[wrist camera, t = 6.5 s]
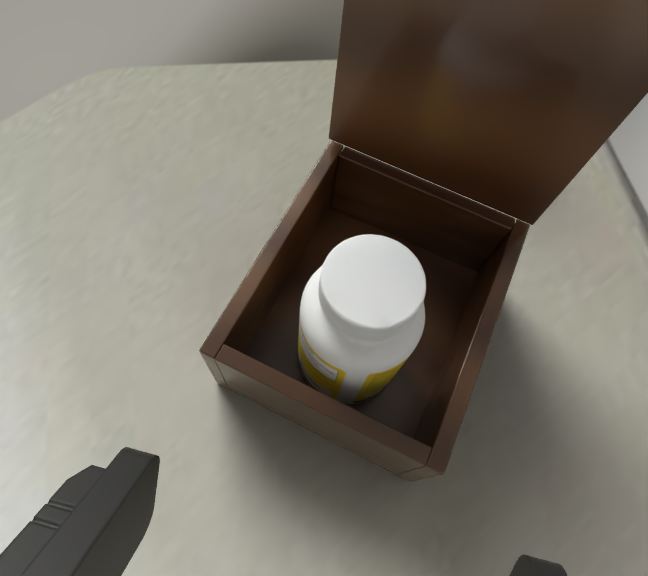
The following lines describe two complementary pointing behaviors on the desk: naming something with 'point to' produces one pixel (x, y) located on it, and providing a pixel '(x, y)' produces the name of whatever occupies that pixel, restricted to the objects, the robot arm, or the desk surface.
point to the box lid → (489, 90)
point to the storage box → (440, 306)
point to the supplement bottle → (360, 317)
